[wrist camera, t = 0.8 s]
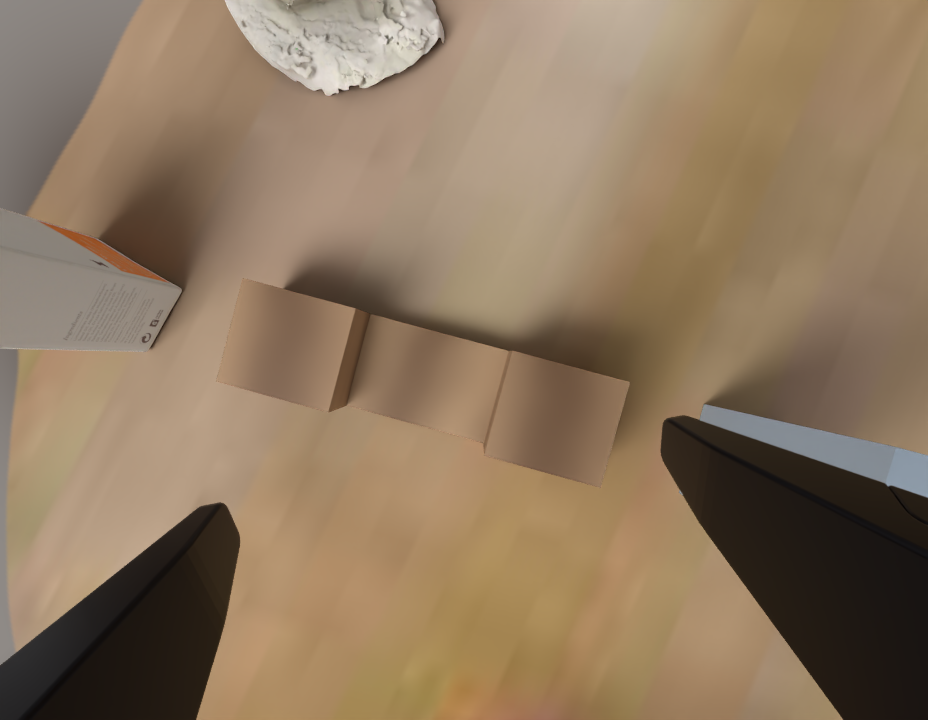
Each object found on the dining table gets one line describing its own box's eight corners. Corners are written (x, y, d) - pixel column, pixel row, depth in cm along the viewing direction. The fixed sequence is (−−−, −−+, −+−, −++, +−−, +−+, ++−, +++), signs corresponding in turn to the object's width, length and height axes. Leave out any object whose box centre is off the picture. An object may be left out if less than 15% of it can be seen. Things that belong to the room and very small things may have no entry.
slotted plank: (604, 377, 24) (630, 382, 20) (580, 465, 24) (600, 487, 20) (281, 290, 25) (242, 278, 21) (258, 376, 25) (216, 381, 21)
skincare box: (187, 287, 25) (-88, 226, 13) (150, 353, 25) (-156, 352, 13) (95, 234, 25) (-260, 122, 13) (59, 299, 25) (-326, 249, 13)
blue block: (760, 515, 24) (1001, 653, 13) (678, 492, 24) (848, 610, 13) (786, 426, 24) (1051, 488, 13) (704, 403, 24) (896, 447, 13)
